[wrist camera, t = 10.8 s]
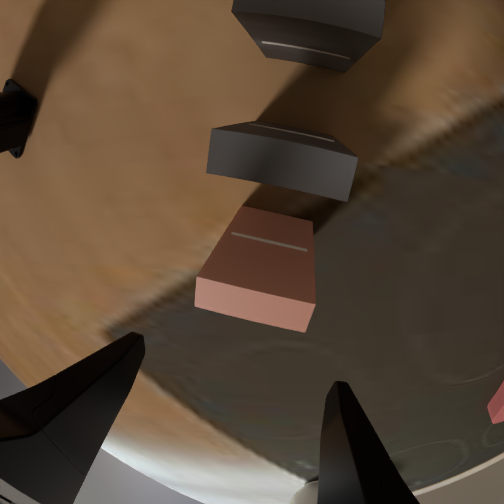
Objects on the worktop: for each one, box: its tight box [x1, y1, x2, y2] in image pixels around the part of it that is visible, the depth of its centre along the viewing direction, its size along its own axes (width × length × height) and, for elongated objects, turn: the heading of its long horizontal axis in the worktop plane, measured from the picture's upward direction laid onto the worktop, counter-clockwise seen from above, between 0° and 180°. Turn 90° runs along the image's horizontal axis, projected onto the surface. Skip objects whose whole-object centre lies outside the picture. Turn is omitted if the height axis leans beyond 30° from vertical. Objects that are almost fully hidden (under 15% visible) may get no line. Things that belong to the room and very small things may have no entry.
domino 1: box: [231, 0, 386, 73], centre depth 11 cm, size 2×5×10 cm, turn 81°
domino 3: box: [195, 206, 316, 332], centre depth 17 cm, size 2×5×10 cm, turn 81°
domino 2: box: [206, 121, 358, 202], centre depth 14 cm, size 2×5×10 cm, turn 81°
